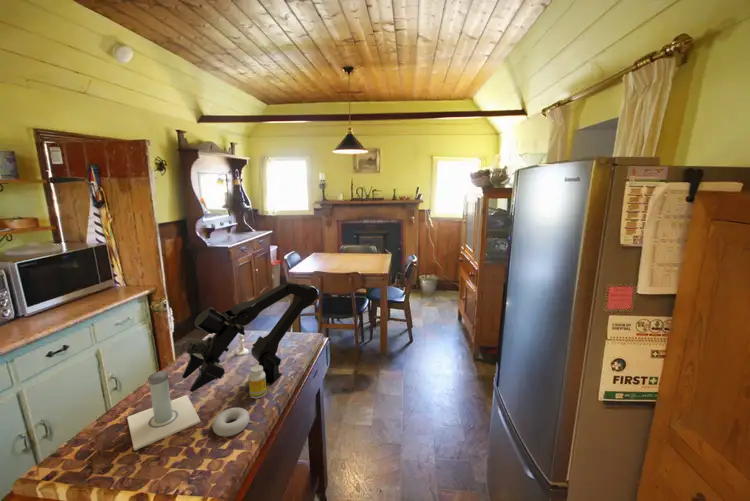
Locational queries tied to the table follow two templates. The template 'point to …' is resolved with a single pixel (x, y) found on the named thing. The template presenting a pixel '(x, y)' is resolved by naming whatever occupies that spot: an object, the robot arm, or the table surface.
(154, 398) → the tube
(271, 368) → the robot arm
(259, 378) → the supplement bottle
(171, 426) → the card
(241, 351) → the chess piece
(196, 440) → the table surface
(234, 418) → the donut
